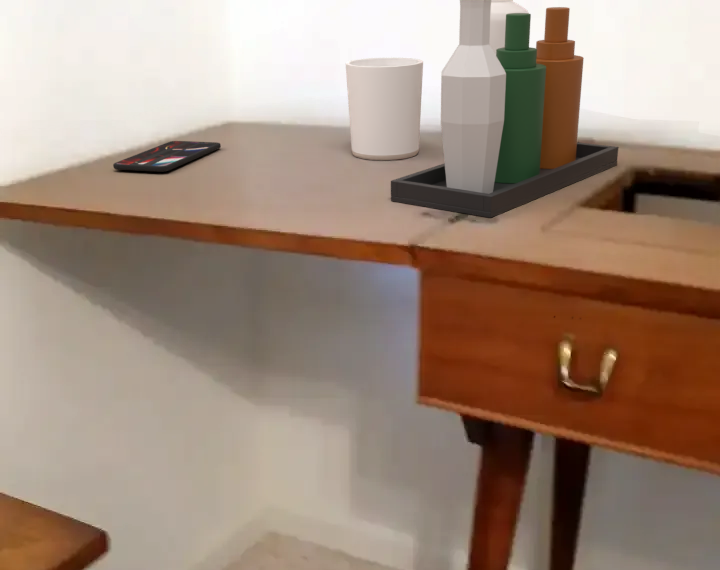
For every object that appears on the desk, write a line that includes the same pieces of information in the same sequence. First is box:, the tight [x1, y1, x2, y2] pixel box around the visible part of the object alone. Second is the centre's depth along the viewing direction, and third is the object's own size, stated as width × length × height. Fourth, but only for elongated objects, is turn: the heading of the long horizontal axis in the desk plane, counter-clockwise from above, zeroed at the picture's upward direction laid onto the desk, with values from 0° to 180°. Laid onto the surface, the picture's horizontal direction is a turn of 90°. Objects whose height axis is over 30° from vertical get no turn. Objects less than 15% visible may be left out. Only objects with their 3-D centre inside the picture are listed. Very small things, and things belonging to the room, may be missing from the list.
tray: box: [390, 141, 620, 219], centre depth 102 cm, size 12×27×2 cm, turn 141°
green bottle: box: [494, 12, 546, 184], centre depth 99 cm, size 6×6×16 cm
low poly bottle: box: [440, 0, 506, 194], centre depth 92 cm, size 6×6×22 cm
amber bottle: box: [535, 6, 584, 169], centre depth 104 cm, size 6×6×16 cm
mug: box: [345, 57, 424, 161], centre depth 115 cm, size 11×9×10 cm
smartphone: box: [112, 140, 222, 173], centre depth 117 cm, size 7×1×15 cm
